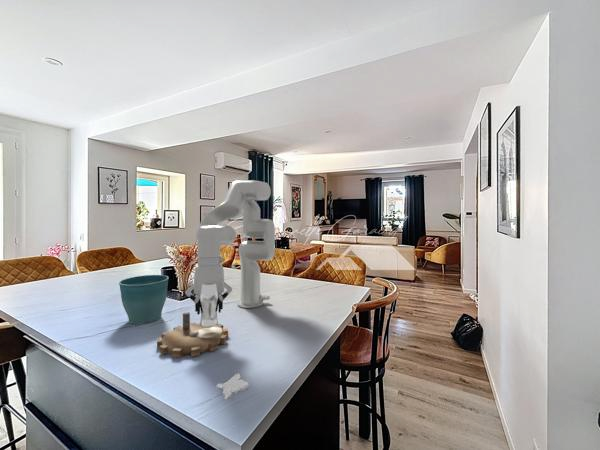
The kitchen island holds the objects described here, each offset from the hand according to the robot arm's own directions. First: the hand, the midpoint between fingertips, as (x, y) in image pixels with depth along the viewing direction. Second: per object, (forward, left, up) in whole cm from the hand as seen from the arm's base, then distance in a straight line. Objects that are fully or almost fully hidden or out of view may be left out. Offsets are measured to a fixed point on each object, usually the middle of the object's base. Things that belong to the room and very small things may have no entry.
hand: (209, 311), depth 96 cm
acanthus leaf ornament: (-6, +29, -11) cm, 32 cm away
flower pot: (+26, -28, -10) cm, 40 cm away
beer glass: (0, 0, -5) cm, 5 cm away
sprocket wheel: (+5, 0, -10) cm, 11 cm away
